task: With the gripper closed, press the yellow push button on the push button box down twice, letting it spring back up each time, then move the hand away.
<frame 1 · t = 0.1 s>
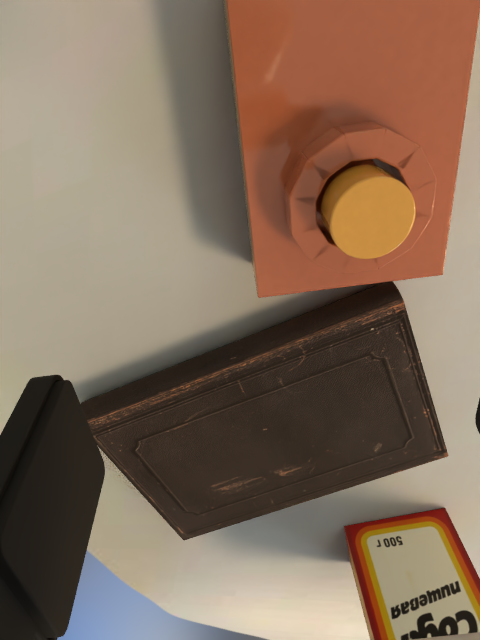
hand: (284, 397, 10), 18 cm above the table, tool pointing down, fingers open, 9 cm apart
yellow push button: (366, 212, 20), point 7 cm above the table, slide at 0.1 cm
baking soda box: (394, 534, 45), on the table
hardcover book: (268, 415, 35), on the table
push button box: (332, 134, 24), on the table
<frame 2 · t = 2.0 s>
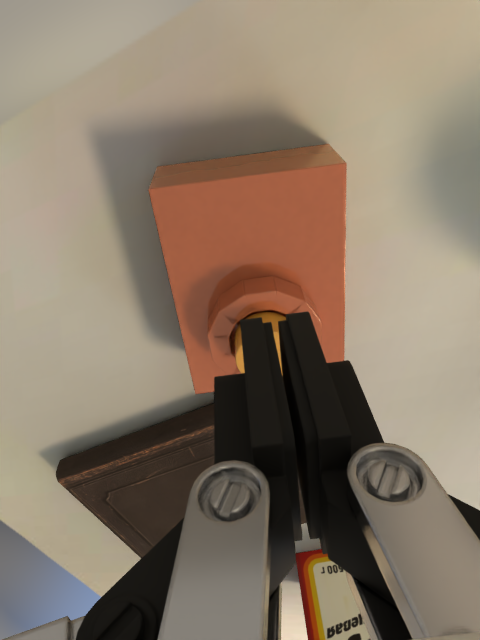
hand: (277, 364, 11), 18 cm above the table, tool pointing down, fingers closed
yellow push button: (266, 347, 26), point 7 cm above the table, slide at 0.1 cm
baking soda box: (341, 560, 51), on the table
hardcover book: (221, 466, 41), on the table
push button box: (254, 263, 30), on the table
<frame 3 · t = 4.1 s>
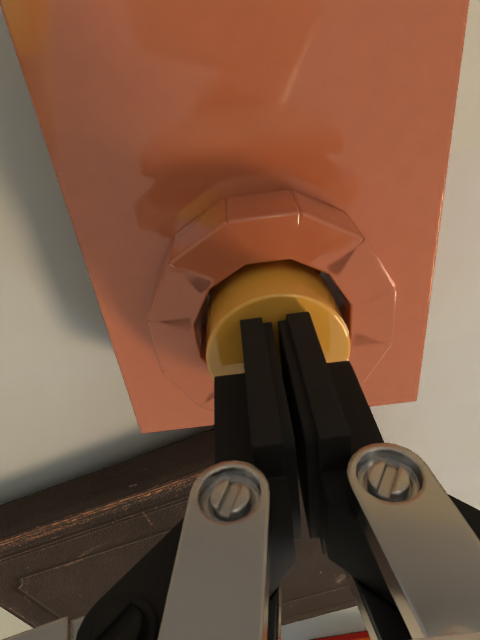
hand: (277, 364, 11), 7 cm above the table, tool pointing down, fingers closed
yellow push button: (274, 334, 12), point 6 cm above the table, slide at -0.4 cm, touching gripper
hardcover book: (200, 531, 27), on the table
push button box: (250, 190, 16), on the table
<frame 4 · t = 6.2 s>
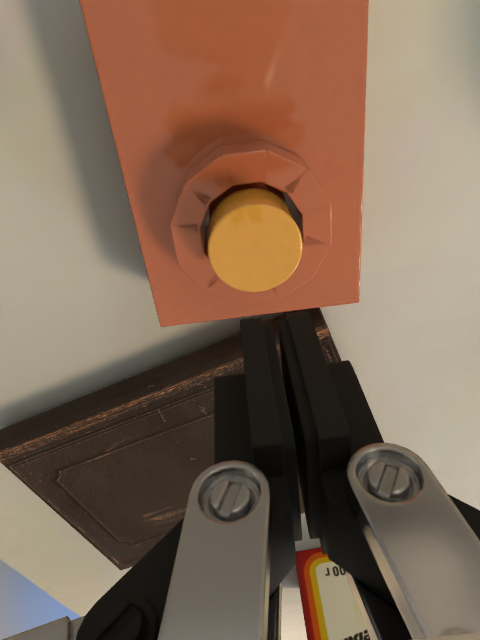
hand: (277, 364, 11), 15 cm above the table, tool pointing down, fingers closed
yellow push button: (253, 240, 18), point 7 cm above the table, slide at 0.1 cm
baking soda box: (348, 560, 43), on the table
hardcover book: (202, 441, 33), on the table
push button box: (239, 151, 23), on the table
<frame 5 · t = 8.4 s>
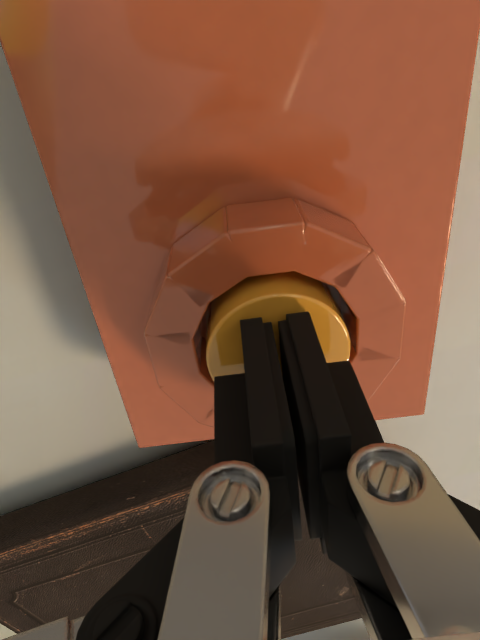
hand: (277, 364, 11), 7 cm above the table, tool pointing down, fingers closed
yellow push button: (274, 334, 12), point 5 cm above the table, slide at -1.1 cm, touching gripper
hardcover book: (200, 542, 27), on the table
push button box: (252, 197, 16), on the table
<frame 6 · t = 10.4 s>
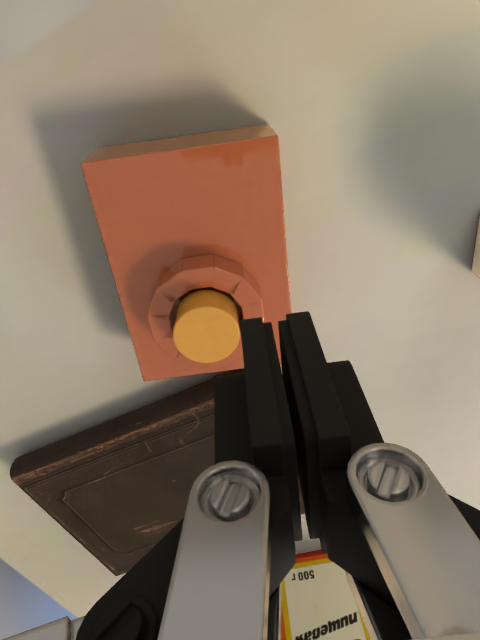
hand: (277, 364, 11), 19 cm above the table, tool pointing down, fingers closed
yellow push button: (206, 326, 25), point 7 cm above the table, slide at 0.1 cm
baking soda box: (314, 567, 49), on the table
hardcover book: (183, 465, 40), on the table
push button box: (202, 248, 30), on the table
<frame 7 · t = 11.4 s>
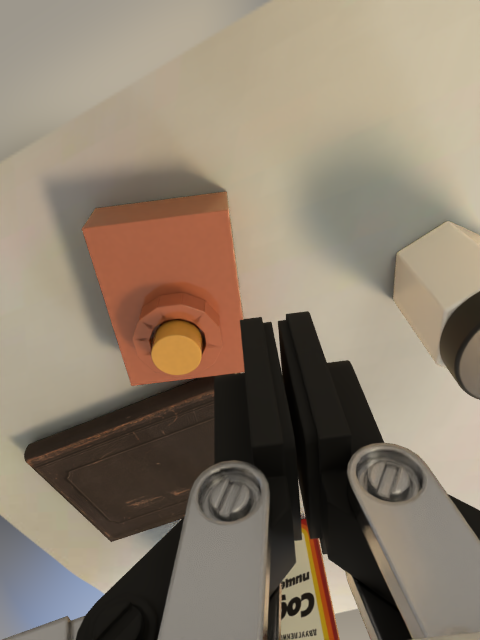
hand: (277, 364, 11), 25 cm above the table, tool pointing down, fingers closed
yellow push button: (177, 347, 33), point 7 cm above the table, slide at 0.1 cm
baking soda box: (279, 537, 58), on the table
hardcover book: (166, 451, 49), on the table
jar: (438, 269, 39), on the table
push button box: (178, 281, 38), on the table
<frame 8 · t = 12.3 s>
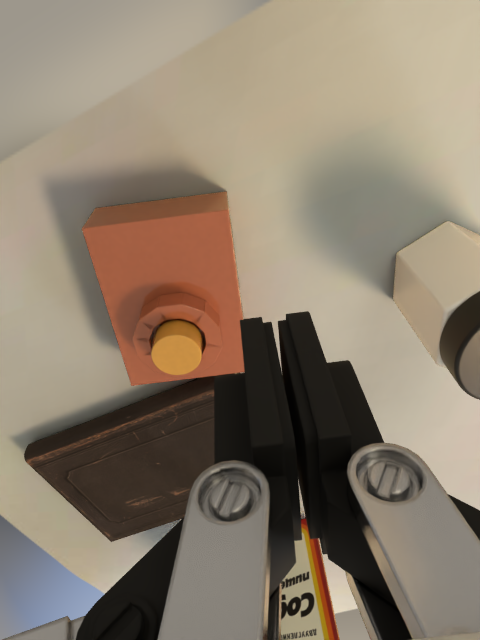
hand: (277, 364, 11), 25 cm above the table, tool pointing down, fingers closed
yellow push button: (177, 347, 33), point 7 cm above the table, slide at 0.1 cm
baking soda box: (279, 537, 58), on the table
hardcover book: (166, 451, 49), on the table
jar: (438, 269, 39), on the table
push button box: (178, 281, 38), on the table
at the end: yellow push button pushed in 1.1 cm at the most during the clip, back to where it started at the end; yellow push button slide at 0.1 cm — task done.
